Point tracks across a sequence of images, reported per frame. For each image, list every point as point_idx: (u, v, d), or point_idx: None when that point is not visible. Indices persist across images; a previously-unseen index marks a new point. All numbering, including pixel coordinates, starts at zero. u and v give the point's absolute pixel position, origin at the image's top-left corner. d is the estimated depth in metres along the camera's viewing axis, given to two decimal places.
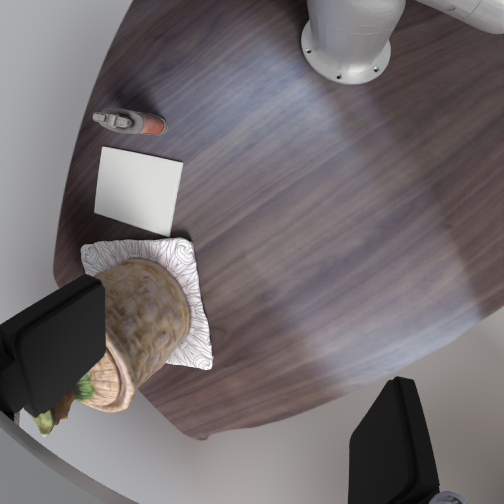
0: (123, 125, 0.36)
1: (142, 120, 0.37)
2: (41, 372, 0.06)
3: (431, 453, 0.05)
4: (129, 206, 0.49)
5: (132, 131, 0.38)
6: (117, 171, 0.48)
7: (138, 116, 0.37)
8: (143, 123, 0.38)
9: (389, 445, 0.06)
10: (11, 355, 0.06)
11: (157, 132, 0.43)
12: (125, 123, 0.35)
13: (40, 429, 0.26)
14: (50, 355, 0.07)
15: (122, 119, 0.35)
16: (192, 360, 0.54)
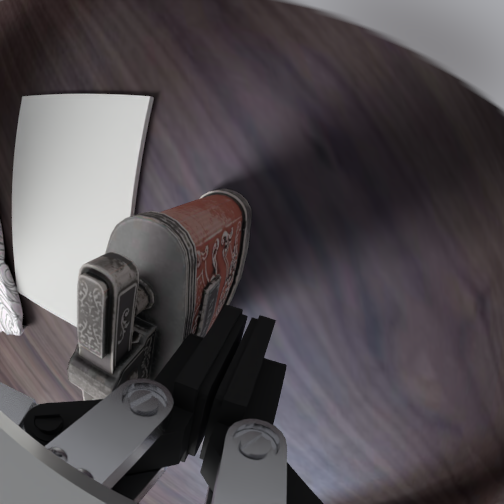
0: None
1: None
2: (206, 416, 0.07)
3: (254, 378, 0.07)
4: (33, 204, 0.18)
5: None
6: (86, 164, 0.16)
7: None
8: None
9: None
10: (186, 408, 0.06)
11: None
12: None
13: None
14: (214, 397, 0.07)
15: None
16: None
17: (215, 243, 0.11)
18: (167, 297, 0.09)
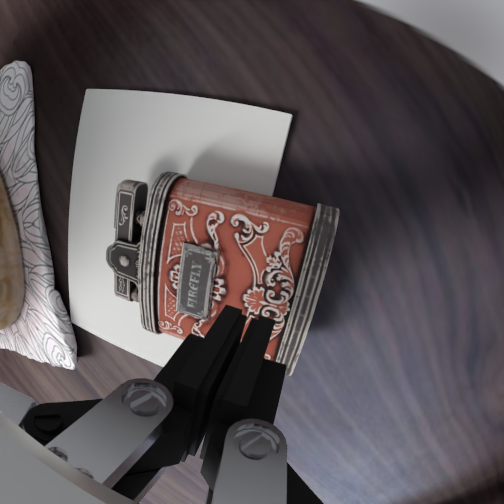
0: None
1: (148, 330, 0.15)
2: (206, 416, 0.07)
3: (254, 378, 0.07)
4: (104, 225, 0.17)
5: None
6: None
7: None
8: None
9: None
10: (186, 408, 0.06)
11: None
12: None
13: None
14: (214, 396, 0.07)
15: (116, 285, 0.15)
16: None
17: (215, 214, 0.12)
18: None
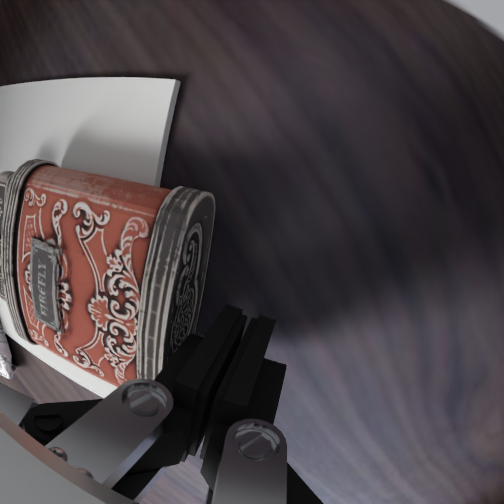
0: None
1: None
2: (206, 416, 0.07)
3: (254, 378, 0.07)
4: None
5: None
6: None
7: None
8: None
9: None
10: (186, 408, 0.06)
11: None
12: None
13: None
14: (214, 397, 0.07)
15: (1, 287, 0.11)
16: None
17: (60, 204, 0.08)
18: None
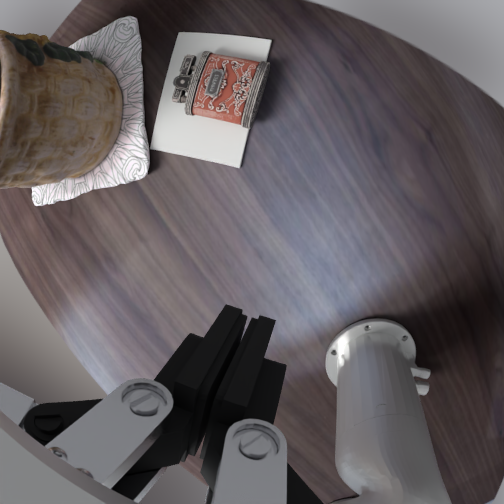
0: None
1: (185, 111, 0.32)
2: (206, 416, 0.07)
3: (254, 378, 0.07)
4: None
5: None
6: None
7: None
8: (188, 114, 0.32)
9: None
10: (186, 408, 0.06)
11: None
12: (173, 100, 0.32)
13: None
14: (214, 396, 0.07)
15: (173, 95, 0.32)
16: None
17: (225, 60, 0.29)
18: None
